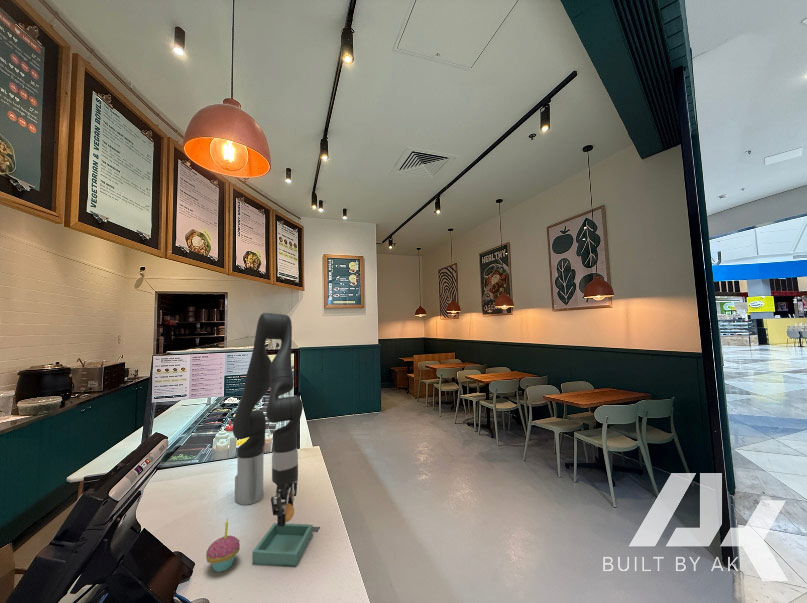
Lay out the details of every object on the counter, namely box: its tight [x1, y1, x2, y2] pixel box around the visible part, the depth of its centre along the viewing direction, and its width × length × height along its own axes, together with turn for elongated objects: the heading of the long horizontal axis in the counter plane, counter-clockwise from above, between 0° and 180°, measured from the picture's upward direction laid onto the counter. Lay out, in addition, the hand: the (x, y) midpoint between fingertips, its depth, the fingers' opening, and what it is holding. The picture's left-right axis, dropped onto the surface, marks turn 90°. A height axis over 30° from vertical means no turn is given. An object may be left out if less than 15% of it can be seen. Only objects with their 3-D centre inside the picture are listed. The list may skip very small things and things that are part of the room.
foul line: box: [313, 526, 321, 533], centre depth 109 cm, size 15×2×1 cm, turn 85°
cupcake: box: [205, 518, 241, 573], centre depth 94 cm, size 9×8×12 cm
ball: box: [282, 503, 295, 523], centre depth 100 cm, size 5×5×5 cm
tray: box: [251, 522, 314, 568], centre depth 100 cm, size 13×13×4 cm
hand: (285, 519), depth 100 cm, fingers closed on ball, 5 cm apart
